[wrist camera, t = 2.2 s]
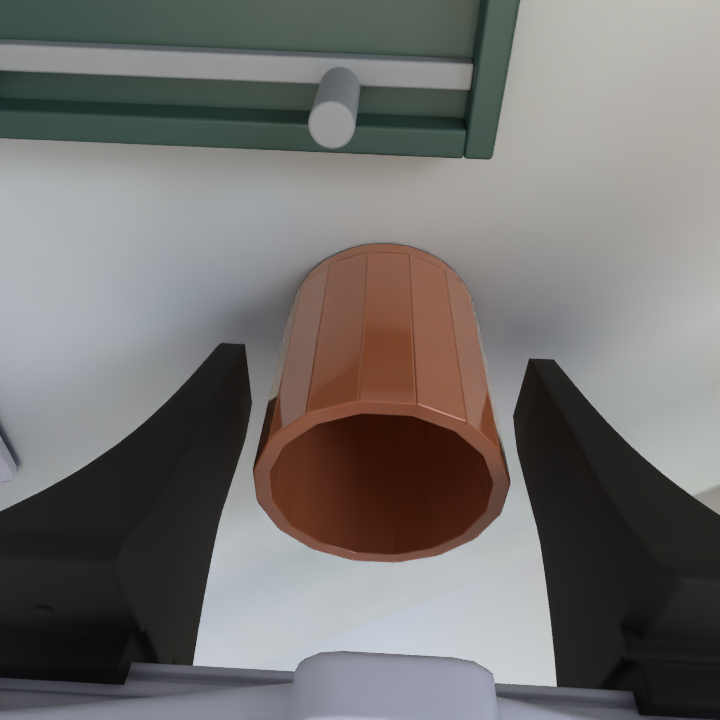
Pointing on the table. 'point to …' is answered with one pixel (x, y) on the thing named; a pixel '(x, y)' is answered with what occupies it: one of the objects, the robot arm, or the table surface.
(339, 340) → the cup
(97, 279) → the table surface
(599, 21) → the table surface
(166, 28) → the rack
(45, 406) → the table surface
